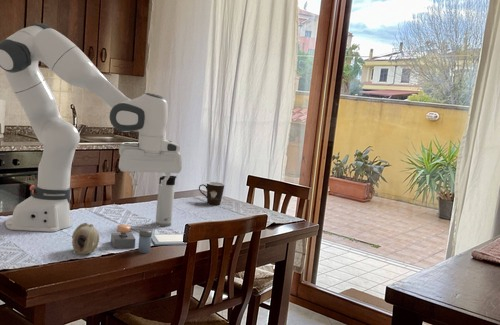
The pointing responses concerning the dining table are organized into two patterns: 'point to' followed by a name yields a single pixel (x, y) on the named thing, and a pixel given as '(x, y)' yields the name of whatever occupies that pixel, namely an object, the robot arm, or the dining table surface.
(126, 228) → the button
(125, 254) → the dining table surface
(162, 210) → the travel mug
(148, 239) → the blue gray capped jar
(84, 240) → the beige rounded piece
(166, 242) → the board
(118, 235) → the button housing
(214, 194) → the coffee mug
